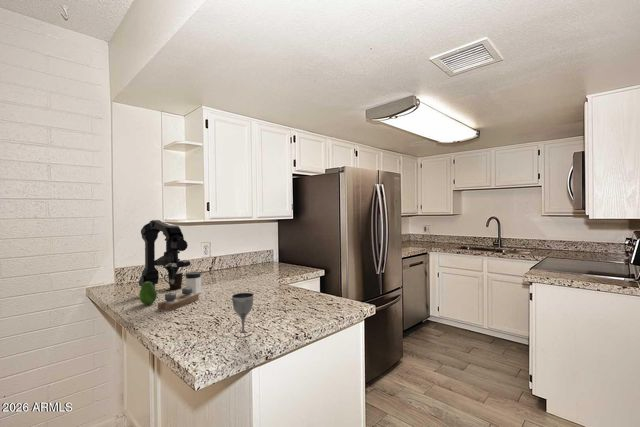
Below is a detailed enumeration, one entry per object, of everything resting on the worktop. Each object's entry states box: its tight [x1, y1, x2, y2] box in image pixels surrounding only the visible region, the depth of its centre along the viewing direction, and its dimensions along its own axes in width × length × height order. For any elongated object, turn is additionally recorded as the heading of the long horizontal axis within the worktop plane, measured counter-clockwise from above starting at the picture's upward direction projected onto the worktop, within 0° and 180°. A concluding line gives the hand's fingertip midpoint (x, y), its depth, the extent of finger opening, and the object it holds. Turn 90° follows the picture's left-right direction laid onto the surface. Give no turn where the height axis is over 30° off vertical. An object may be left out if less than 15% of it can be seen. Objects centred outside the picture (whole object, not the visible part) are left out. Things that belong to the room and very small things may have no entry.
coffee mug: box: [163, 271, 184, 291], centre depth 194 cm, size 12×9×10 cm
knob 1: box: [164, 292, 177, 301], centre depth 153 cm, size 5×5×3 cm
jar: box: [184, 271, 202, 295], centre depth 181 cm, size 9×8×12 cm
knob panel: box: [157, 293, 199, 312], centre depth 159 cm, size 8×20×3 cm, turn 164°
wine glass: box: [231, 292, 254, 333], centre depth 118 cm, size 8×8×15 cm
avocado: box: [139, 281, 158, 306], centre depth 159 cm, size 8×8×12 cm
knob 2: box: [181, 287, 192, 295], centre depth 165 cm, size 5×5×3 cm
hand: (172, 279), depth 160 cm, fingers closed
